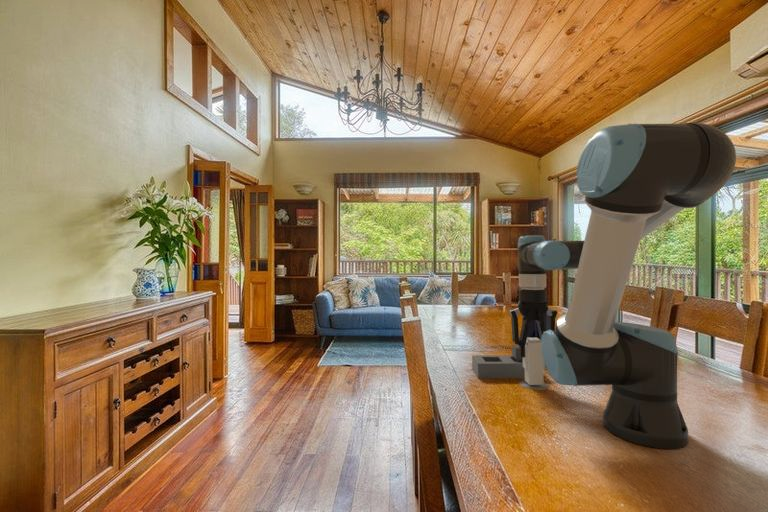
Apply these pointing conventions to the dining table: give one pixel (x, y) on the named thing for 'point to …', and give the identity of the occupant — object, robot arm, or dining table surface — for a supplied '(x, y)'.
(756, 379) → the dining table surface
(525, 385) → the coaster
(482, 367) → the strip
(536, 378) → the plug
